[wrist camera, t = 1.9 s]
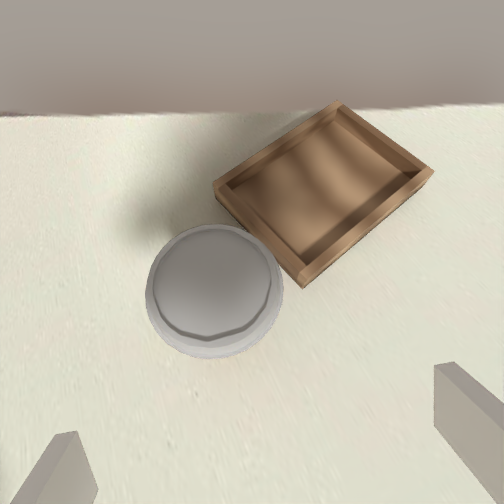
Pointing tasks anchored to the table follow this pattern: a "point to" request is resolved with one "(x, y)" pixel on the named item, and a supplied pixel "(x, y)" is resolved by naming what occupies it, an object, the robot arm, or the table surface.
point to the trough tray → (320, 189)
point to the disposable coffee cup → (213, 291)
